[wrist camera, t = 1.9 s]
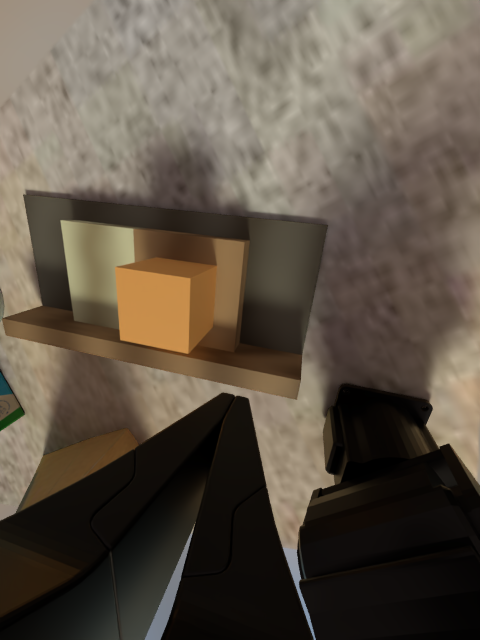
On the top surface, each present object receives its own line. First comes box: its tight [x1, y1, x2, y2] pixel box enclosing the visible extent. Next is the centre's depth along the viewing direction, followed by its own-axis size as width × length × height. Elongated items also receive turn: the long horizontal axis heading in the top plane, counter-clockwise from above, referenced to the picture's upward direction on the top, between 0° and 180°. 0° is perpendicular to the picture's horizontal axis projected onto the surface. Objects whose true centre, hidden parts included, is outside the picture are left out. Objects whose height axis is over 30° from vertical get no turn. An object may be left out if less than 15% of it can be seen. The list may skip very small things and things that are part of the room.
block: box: [115, 257, 217, 354], centre depth 18 cm, size 4×4×4 cm
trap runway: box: [2, 195, 328, 400], centre depth 20 cm, size 24×11×4 cm, turn 85°
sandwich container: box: [16, 428, 139, 513], centre depth 25 cm, size 9×15×15 cm, turn 119°
